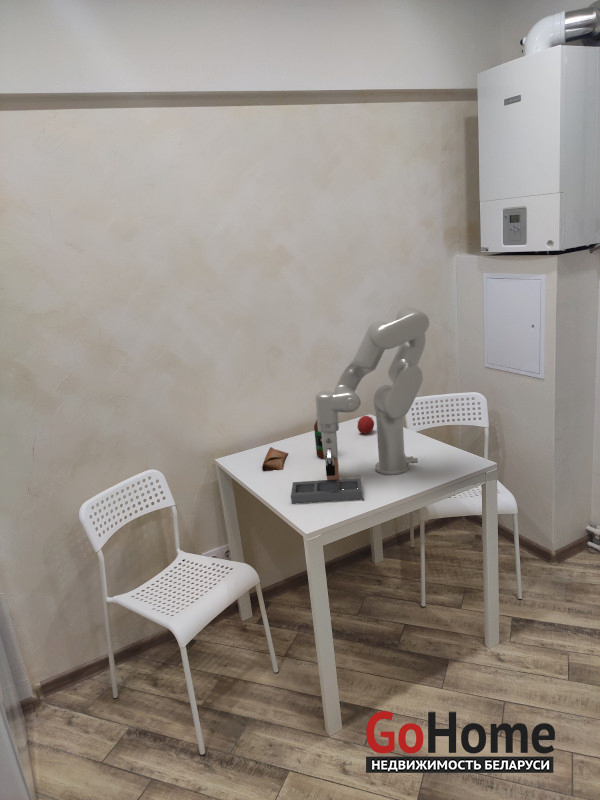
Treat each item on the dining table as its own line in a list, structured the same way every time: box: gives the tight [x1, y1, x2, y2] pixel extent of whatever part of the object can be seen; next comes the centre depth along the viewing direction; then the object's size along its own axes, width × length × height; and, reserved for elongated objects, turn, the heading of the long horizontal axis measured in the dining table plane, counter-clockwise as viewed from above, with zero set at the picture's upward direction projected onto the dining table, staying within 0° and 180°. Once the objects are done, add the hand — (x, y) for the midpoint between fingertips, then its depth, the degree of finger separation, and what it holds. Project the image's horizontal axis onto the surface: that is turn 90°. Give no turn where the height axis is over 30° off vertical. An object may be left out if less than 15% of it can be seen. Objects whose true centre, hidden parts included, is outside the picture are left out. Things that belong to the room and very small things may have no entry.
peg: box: [324, 456, 340, 480], centre depth 223 cm, size 4×4×8 cm
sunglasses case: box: [261, 447, 289, 472], centre depth 244 cm, size 18×7×7 cm, turn 175°
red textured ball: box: [356, 415, 375, 435], centre depth 265 cm, size 8×8×8 cm
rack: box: [290, 477, 364, 505], centre depth 210 cm, size 24×11×3 cm, turn 87°
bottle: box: [313, 420, 325, 460], centre depth 242 cm, size 7×7×25 cm
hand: (330, 470), depth 223 cm, fingers open, 9 cm apart
